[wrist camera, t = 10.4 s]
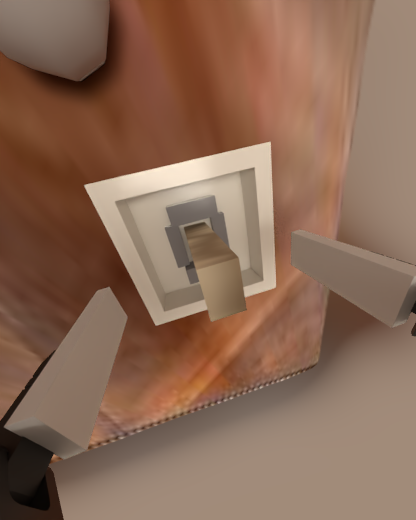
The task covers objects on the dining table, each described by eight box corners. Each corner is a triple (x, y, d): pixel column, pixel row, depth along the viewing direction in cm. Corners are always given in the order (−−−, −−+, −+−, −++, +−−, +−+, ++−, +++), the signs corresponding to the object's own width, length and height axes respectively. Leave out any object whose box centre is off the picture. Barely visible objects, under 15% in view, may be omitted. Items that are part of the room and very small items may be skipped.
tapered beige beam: (192, 257, 20) (211, 321, 11) (183, 227, 19) (195, 270, 9) (211, 252, 21) (246, 310, 11) (204, 221, 19) (238, 257, 9)
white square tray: (158, 302, 23) (155, 325, 19) (105, 185, 16) (83, 185, 12) (259, 271, 25) (276, 287, 21) (248, 152, 18) (270, 141, 14)
